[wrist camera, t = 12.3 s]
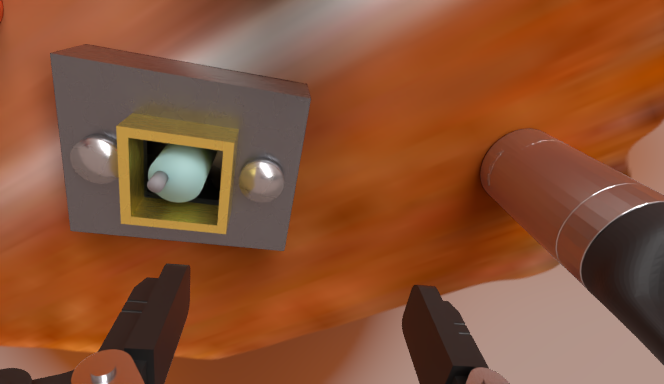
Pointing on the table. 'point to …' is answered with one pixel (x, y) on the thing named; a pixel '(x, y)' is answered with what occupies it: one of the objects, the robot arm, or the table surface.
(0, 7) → the paper cup
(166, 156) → the spout can
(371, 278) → the table surface
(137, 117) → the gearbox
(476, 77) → the table surface
